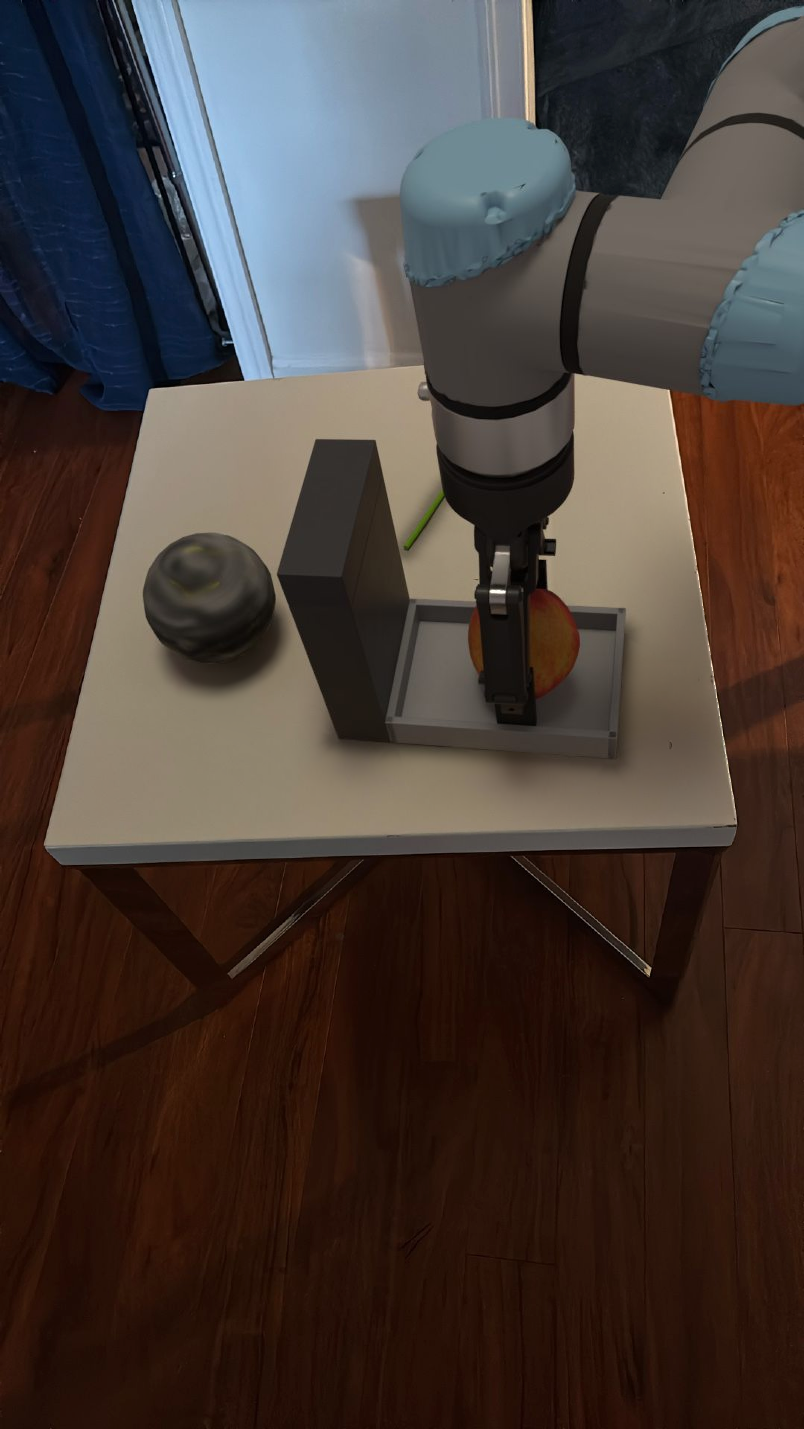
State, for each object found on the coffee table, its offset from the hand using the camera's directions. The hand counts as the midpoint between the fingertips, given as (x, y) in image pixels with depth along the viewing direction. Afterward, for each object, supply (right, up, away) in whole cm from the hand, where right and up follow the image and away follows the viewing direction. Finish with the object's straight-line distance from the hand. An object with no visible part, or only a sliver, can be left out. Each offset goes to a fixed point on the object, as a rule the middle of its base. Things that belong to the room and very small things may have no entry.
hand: (523, 669), depth 75 cm
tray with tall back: (-3, -1, +3) cm, 4 cm away
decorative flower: (-2, +15, +13) cm, 20 cm away
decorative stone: (-23, +3, +9) cm, 24 cm away
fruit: (0, 0, 0) cm, 0 cm away
